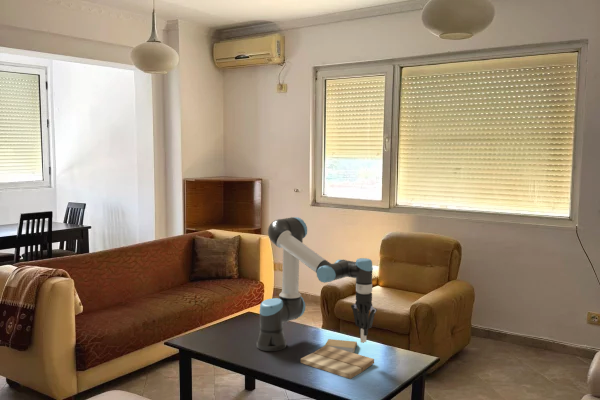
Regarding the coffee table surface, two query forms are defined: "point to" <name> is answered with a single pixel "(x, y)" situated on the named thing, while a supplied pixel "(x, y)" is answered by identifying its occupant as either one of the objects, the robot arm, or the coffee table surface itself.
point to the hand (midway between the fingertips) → (363, 341)
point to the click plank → (345, 357)
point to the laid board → (331, 365)
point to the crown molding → (342, 345)
